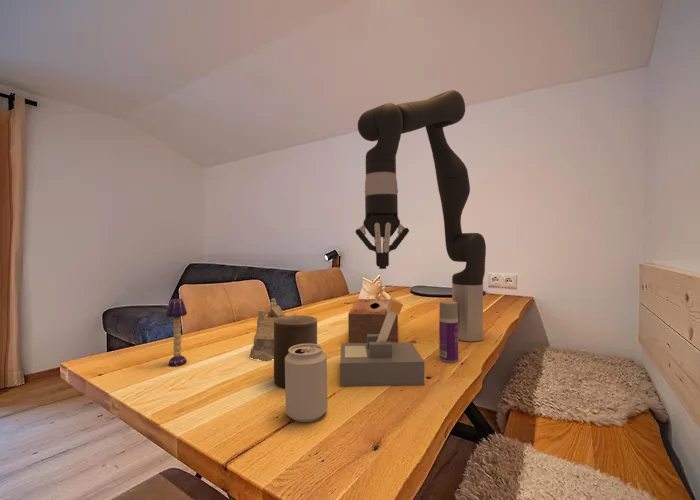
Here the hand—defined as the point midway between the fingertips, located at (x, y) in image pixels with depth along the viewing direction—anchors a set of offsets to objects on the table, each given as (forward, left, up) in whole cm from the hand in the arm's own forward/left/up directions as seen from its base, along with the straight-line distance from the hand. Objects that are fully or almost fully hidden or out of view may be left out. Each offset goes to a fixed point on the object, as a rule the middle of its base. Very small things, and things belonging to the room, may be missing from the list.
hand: (382, 268), depth 78 cm
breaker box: (0, -1, -25) cm, 25 cm away
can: (+18, -16, -25) cm, 35 cm away
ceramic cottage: (-16, -27, -25) cm, 40 cm away
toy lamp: (-8, -52, -25) cm, 58 cm away
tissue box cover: (-32, +1, -25) cm, 40 cm away
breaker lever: (0, -1, -19) cm, 19 cm away
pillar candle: (+3, -20, -25) cm, 32 cm away
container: (-8, +18, -25) cm, 32 cm away
